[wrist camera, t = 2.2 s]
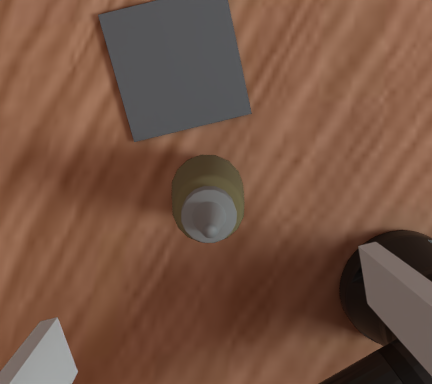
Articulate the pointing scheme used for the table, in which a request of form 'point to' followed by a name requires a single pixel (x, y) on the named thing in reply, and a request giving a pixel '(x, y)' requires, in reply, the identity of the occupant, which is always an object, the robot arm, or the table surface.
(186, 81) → the mat
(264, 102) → the table surface
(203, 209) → the squeeze bottle
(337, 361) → the table surface
